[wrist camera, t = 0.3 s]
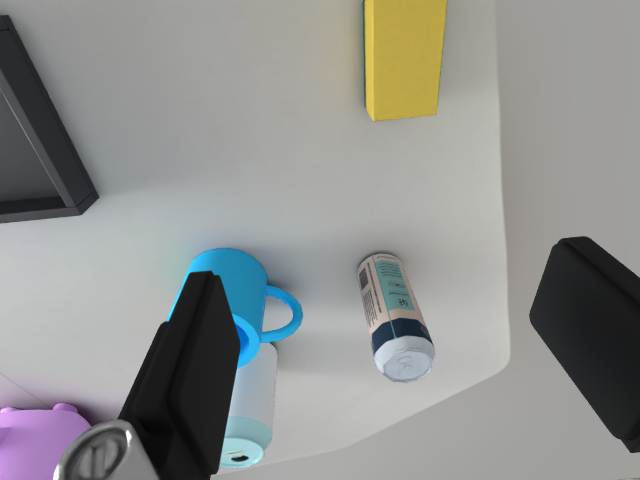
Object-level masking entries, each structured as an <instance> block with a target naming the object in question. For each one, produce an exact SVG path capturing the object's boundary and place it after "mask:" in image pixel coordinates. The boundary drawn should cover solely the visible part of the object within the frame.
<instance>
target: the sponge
mask: <svg viewBox="0 0 640 480" xmlns="http://www.w3.org/2000/svg"><path fill="white" fill-rule="evenodd" d="M446 8H447V0H363V37H364V92H365V108H366V109H367V111H368V113H369V114H370V116H371V118H372V119H373V121H380V120H390V119H399V118H409V117H419V116H428V115H436V114H437V104H438V94H439V83H440V72H441V62H442V51H443V40H444V30H445V19H446Z"/></svg>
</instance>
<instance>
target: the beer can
mask: <svg viewBox="0 0 640 480" xmlns="http://www.w3.org/2000/svg"><path fill="white" fill-rule="evenodd" d="M357 277H358V281H359V286H360V290H361V295H362V300H363V305H364V310H365V315H366V320H367V325H368V329H369V334H370V339H371V344H372V349H373V354H374V359H375V364H376V366H377V368H378V369H379V370H380V371H381V372H382V373H383V375H384V376H385V377H387V378H388V379H389V380H391V381H392V382H402V383H408V382H412V381H415V380H419V379H422V378H423V377H424V376H425V375H427V374H428V373H429V372H430V371H431V370H432V365H433V359H434V356H435V349H434V346H433V343H432V340H431V338H430V335H429V333H428V330H427V327H426V325H425V322H424V320H423V317H422V314H421V312H420V309H419V307H418V304H417V301H416V299H415V296H414V294H413V291H412V288H411V286H410V283H409V281H408V278H407V275H406V273H405V270H404V268H403V265H402V263H401V261H400V260H399V259H398V258H396V257H395V256H393V255H390V254H376V255H372V256H370V257H368V258H367V259H365V260H364V261H363V262H362V263H361V264H360V266H359V268H358V271H357Z"/></svg>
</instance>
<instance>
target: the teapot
mask: <svg viewBox="0 0 640 480" xmlns="http://www.w3.org/2000/svg"><path fill="white" fill-rule="evenodd" d="M77 412H78V410H77V408H76V407H74V406H72V405H70V404H65V403H59V404H56V405H55V406H54V408H53V410H20V409H17V408H12V407H7V408H3V409H2V410H1V413H0V480H54V473H55V470H56V467H57V463H58V461H59V459H60V458H61V456H62V455H63V453H64V451H65V450H66V449H67V447H68V446H69V445H70V444H71V443H72V442H73V441H74V440H75V439H76V438H77V437H78V436H79V435H81V434H82V433H83V432H84V431H86V430H87V429H89V428H91V427H92V426H91V425H90V424H89V423H88V422H87V421H86V420H85V419H84V418H83V417H82V416H80V415H79V414H77Z"/></svg>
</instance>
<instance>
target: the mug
mask: <svg viewBox="0 0 640 480" xmlns="http://www.w3.org/2000/svg"><path fill="white" fill-rule="evenodd" d="M209 270H211V271H212V272H213V273H214V275H219V276H220V277H221V280H222V283H223V286H224V290H225V293H226V296H227V299H228V303H229V306H230V309H231V312H232V316H233V319H234V322H235V325H236V329H237V332H238V335H239V339H240V355H239V360H238V366H237V369H238V368H240V367H242V366H244V365H246V364H248V363H249V362H250V361H251V360H252V359H253V358H254V357H255V356H256V355H257V353H258V350H259V348H260V343H269V342H274V341H278V340H282V339H284V338H286V337H288V336H289V335H291V334H293V333H294V332H295V331H296V330H297V329H298V327H299V326H300V325H301V322H302V318H303V312H302V308H301V305H300V304H299V302H298V301H297V300H296V299H295V298H294V297H293V296H292V295H291V294H289V293H288V292H286V291H284V290H282V289H279V288H277V287H274V286H270V285H267V275H266V273H265V271H264V269H263V267H262V265H261V264H260V263H259V262H258V261H257V260H256V259H255V258H253V257H252V256H250V255H248V254H246V253H244V252H242V251H238V250H234V249H214V250H210V251H206V252H204V253H202V254H201V255H199V256H198V257H196V258H195V259H194V261H193V262H192V264H191V265H190V267H189V269H188V271H187V274H186V276H185V278H184V281H183V283H182V286H181V288H180V290H179V293H178V295H177V297H176V300H175V302H174V304H173V307H172V309H171V311H170V314H169V316H168V319H167V321H169V319H170V316H171V314H172V312H173V309H174V307H175V305H176V302H177V300H178V298H179V296H180V293H181V291H182V289H183V286H184V284H185V282H186V279H187V277H188V275H189V273H191V272H198V271H209ZM266 295H270V296H272V297H275V298H277V299H280V300H282V301H283V302H284V303H286V304H287V305H288V306H289V307H290V308H291V310H292V311H293V319H292V321H291V322H290V323H289V324H288V325H287V326H284V327H282V328H280V329H278V330H273V331H268V332H262V324H263V316H264V308H265V300H266ZM167 321H166V322H167Z"/></svg>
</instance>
